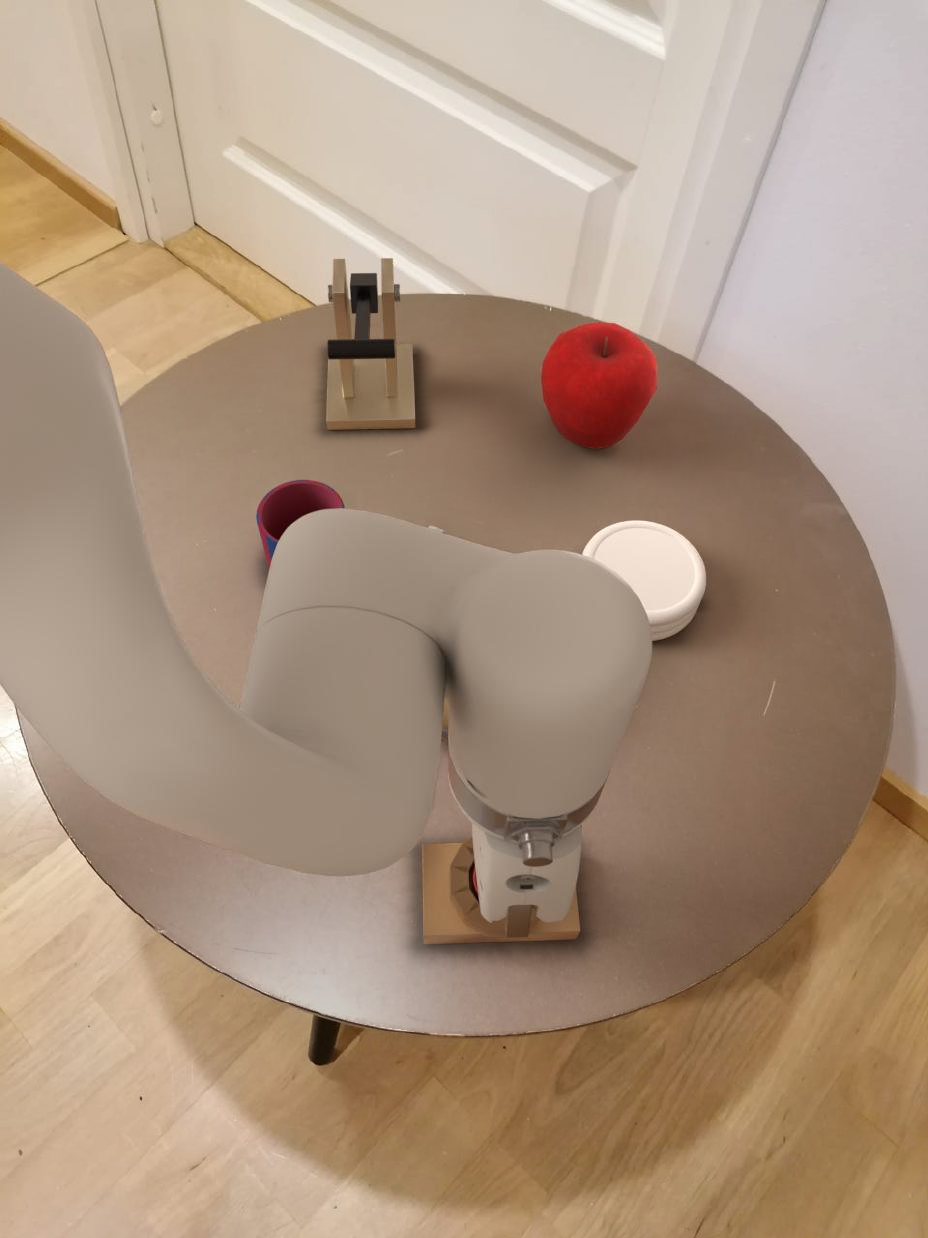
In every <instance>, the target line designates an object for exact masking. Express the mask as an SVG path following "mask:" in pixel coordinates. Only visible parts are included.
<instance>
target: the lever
mask: <svg viewBox="0 0 928 1238" xmlns="http://www.w3.org/2000/svg"><path fill="white" fill-rule="evenodd" d="M349 294H350V310H351V311H350V312H351V314H354V315H355V319H354V320H355V321H354V334H353V335H354V337H353V338H352V339H340V340H337V339H328V340H327V341H326V345H327V346H326V347H327V359H328V358H329V359H330V360H335V359H394V358H395V340H394V339H384V338H371V314H378V313H379V287H378V273H377V272H352V273H350V279H349Z"/></svg>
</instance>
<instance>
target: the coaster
mask: <svg viewBox="0 0 928 1238" xmlns="http://www.w3.org/2000/svg"><path fill="white" fill-rule="evenodd" d="M581 555H584V556H587V557H590V558H592V559H594V560H596V561H598V562H600V563H602V564H604V565H605V566H607V567H608V568H610V569H611V570H613V571H614V572H616V573H617V574H618V575H619V576H621V577H622V578H623V579H624V580H625V581H626V582H627V583H628V584H629V585H630V586H631V588H632V589H633V590H634V592H635V593H636V595H637V596H638V597H639V599H640V601H641V603H642V605H643V607H644V609H645V611H646V614H647V616H648V620H649V624H650V628H651V633H652V642H655V641H656V642H657V641H659V640H664V639H667V638H669V637H670V638H671V636H674V635H676V634H678V633H679V632H680V631H682V630H684V628H686V627H687V626H688V625H689V624H690V622H691V621H692V620H693V619H694V617H695V615H696V613H697V611H698V608H699V606H700V604H701V601H702V599H703V597H704V594H705V592H706V588H707V587H706V586H707V572H706V567H705V563H704V561H703V559H702V557H701V555H700V553H699V551H698V550H697V548H696V547H695V546H694V545H693V544H692V542H691V541H689V540H688V538H687V537H685V536H684V535H682V534H681V533H680V532H678V531H676V530H674V529H672V528H671V527H669V526H667V525H664V524H660V523H658V522H654V521H648V520H625V521H619V522H616V523H612V524H610V525H608V526H606V527H604V528H603V529H600V530H599V531H598V532H596V533H595V534H593V536H592V538H590V540H589V541H588V542H587V544H586V545H585V546H584V549H583V551H582V553H581Z"/></svg>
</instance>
